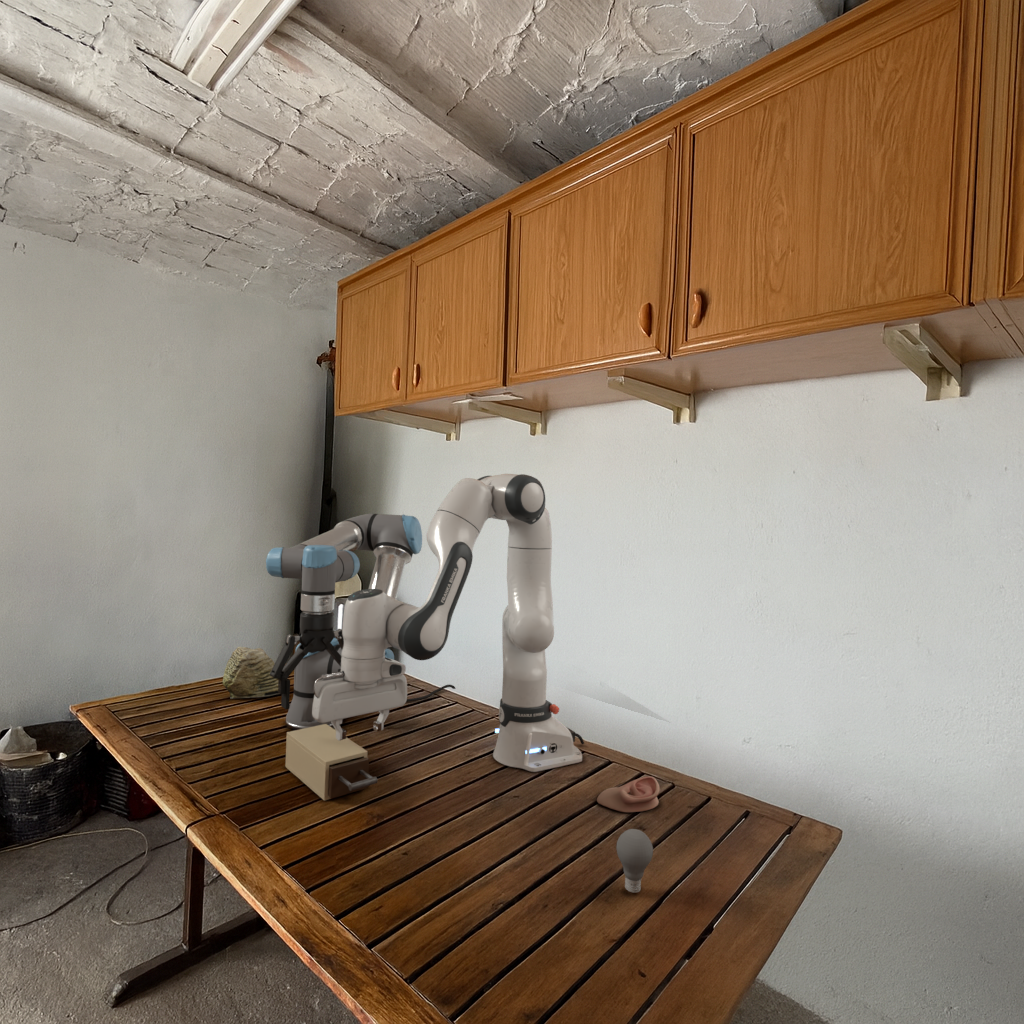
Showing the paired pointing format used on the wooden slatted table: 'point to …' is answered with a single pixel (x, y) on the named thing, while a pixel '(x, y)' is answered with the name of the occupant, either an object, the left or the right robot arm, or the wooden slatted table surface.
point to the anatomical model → (632, 795)
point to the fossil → (250, 674)
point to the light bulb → (634, 857)
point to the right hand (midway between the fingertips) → (360, 734)
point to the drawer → (349, 777)
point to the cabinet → (318, 755)
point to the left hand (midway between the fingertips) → (313, 702)
